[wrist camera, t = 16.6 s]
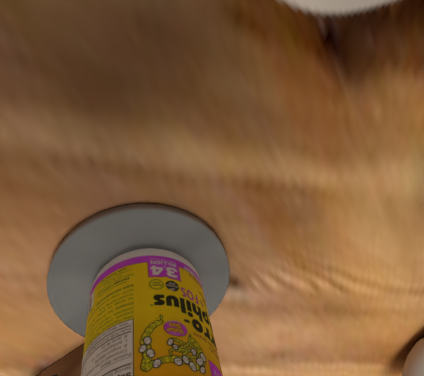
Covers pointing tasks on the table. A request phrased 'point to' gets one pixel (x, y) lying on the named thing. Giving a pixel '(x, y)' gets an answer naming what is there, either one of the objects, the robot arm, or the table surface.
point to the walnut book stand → (67, 364)
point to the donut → (415, 360)
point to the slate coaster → (125, 242)
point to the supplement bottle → (149, 319)
